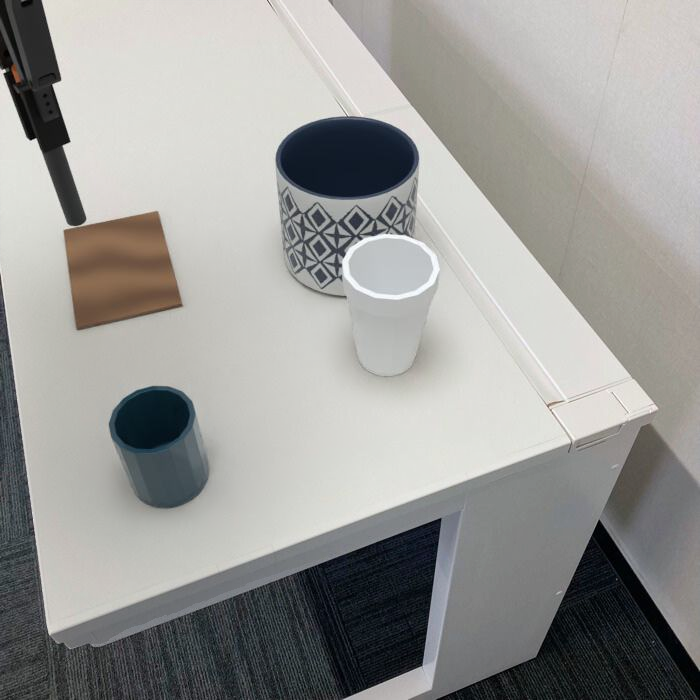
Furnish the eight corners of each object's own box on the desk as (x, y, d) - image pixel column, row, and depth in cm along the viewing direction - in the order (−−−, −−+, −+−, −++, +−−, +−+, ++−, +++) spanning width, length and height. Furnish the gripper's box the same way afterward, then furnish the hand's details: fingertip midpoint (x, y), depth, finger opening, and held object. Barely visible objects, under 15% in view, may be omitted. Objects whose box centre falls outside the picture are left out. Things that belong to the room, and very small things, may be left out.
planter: (413, 215, 100) (420, 117, 89) (412, 302, 90) (419, 202, 79) (291, 211, 101) (283, 113, 90) (276, 296, 90) (265, 197, 80)
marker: (72, 229, 79) (17, 74, 66) (62, 219, 80) (6, 65, 67) (90, 220, 80) (40, 66, 67) (80, 211, 81) (29, 57, 68)
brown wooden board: (182, 306, 89) (182, 303, 89) (77, 330, 87) (75, 327, 87) (158, 213, 101) (157, 210, 100) (64, 232, 98) (63, 229, 98)
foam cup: (411, 315, 88) (418, 226, 78) (443, 374, 82) (455, 285, 73) (332, 335, 86) (329, 246, 76) (359, 396, 80) (359, 308, 71)
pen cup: (159, 523, 71) (138, 469, 64) (117, 472, 74) (93, 416, 68) (224, 476, 74) (211, 420, 67) (181, 430, 78) (164, 372, 71)
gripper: (48, -134, 53) (125, 158, 70) (-45, -181, 60) (46, 94, 78) (-58, -107, 49) (51, 192, 67) (-143, -160, 57) (-25, 122, 75)
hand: (48, 139), depth 72 cm, fingers closed on marker, 2 cm apart
